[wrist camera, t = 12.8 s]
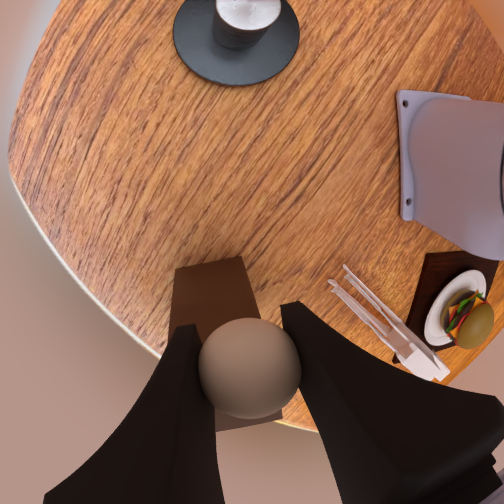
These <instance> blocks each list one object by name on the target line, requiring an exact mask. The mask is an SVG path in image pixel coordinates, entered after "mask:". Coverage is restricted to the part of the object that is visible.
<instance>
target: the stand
mask: <svg viewBox="0 0 504 504" xmlns="http://www.w3.org/2000/svg"><path fill="white" fill-rule="evenodd" d="M241 318H257V319H261V316H260V313H259V310H258V307H257V304H256V300H255V297H254V294H253V291H252V288H251V285H250V281H249V278H248V275H247V272H246V269H245V266H244V262H243V259H242V256H239V257H234V258H229V259H224V260H219V261H214V262H209V263H204V264H199V265H194V266H189V267H184V268H179V269H176V270H175V277H174V285H173V293H172V302H171V311H170V321H169V331H168V343H169V341H170V338H171V336H172V334H173V332H174V330H175V328H176V327H177V326H183V325H188V324H193V323H195V324H196V327H197V330H198V333H199V336H200V339H201V342H202V345H203V344H204V342H205V341H206V340H207V338H208V337H209V336H210V335H211V334H212V333H213V332H214V331H215V330H216V329H217V328H219V327H220V326H222V325H224V324H226V323H228V322H230V321H233V320H236V319H241ZM168 343H167V345H168ZM282 418H283V416H282V409H280V410H279V411H277V412H276V413H274V414H271V415H269V416H266V417H262V418H257V419H242V418H237V417H233V416H230V415H228V414H226V413H224V412H222V411H220V410H219V409H218V408H216V407H215V432H218V431H224V430H229V429H236V428H241V427H247V426H251V425H256V424H261V423H266V422H271V421H275V420H279V419H282Z"/></svg>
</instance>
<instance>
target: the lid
mask: <svg viewBox="0 0 504 504" xmlns="http://www.w3.org/2000/svg"><path fill="white" fill-rule="evenodd" d="M299 37H300V31H299V24H298V20H297V17H296V15H295V13H294V11H293V9H292V8H291V6H290V5H289V3H288V2H287V1H286V0H185V2H184V3H183V4H182V5H181V7H180V8H179V10H178V12H177V14H176V17H175V20H174V24H173V40H174V45H175V48H176V50H177V53H178V55H179V57H180V58H181V60H182V61H183V63H184V64H185V65H186V66H187V67H188V68H189V69H190V70H191V71H192V72H193V73H195V74H196V75H197V76H199V77H201V78H203V79H204V80H207V81H209V82H212V83H215V84H218V85H223V86H230V87H242V86H250V85H255V84H258V83H261V82H264V81H266V80H268V79H270V78H272V77H273V76H275V75H277V74H278V73H279V72H281V71H282V70H283V69H284V68H285V67H286V66H287V65H288V64H289V63H290V61H291V60H292V58H293V57H294V55H295V53H296V50H297V48H298V44H299Z"/></svg>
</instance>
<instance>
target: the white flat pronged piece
mask: <svg viewBox="0 0 504 504" xmlns="http://www.w3.org/2000/svg"><path fill="white" fill-rule="evenodd" d="M342 266H343V268H344V269H345V271H347V272H348V274H347V275H346V276H345V277H344V278H345V279H348V282H350V283H351V284H352V285H353V286H354V287H355V288H356V289H357V290H358V291H359V292H360V293H361V294H362V295H363V296H364V297H365V298H366V299H367V300H368V301H369V302H370V303H371V304H372V305H373V306H374V307H375V308H376V309H377V310H378V311H379V312H380V313H381V314H382V315H383V316H384V317H385V318H386V319H387V321H388V322H389V323H390V324H391V325H392V327H393V328H394V329H393V330H392V329H391V328H390V327H389V326H388V325H384V324H383V323H381V322H380V321H379V320H378V319H377V318H375V317H374V316H373V315H372V314H371V313H369V312H368V311H367V310H366V309H365V308H364V307H363V306H362V305H360V304H359V303H358V302H357V301H356V300H355V299H354V298H353V297H352V296H350V295H349V294H348V293H347V292H346V291H345V290H344V289H343V288H341V287H340V286H339V285H338V284H337V282H336V280H335V279H329V280H328V281H327V282H328V283H330V284H332V285H333V286H334V288H333V289H332V290H331V291H330V292H334V293H336V295H338V296H339V297H340V298H341V299H342V300H343V301H344V302H345V303H346V304H347V305H348V306H349V307H350V308H351V309H352V310H353V311H354V312H355V313H356V314H357V315H358V316H359V318H360V319H361V320H362V321H363V322H364V323H365V324H368V325H369V326H370V327H371V328H372V329H373V331H374V332H375V333H376V334H377V336H378V337H379V338H380V339H381V340H382V341H383V342H384V343H385V344H386V345H387V346H389V347H390V348H391V349H392V350H393V351H394V352H395V353H396V356H397V358H398V359H399V360H400V362H401V363H402V364H403V365H404V366H405V367H406V368H407V369H409V370H410V371H411V372H412V373H413V374H414V375H416V376H418V377H420V378H423V379H426V380H428V381H431V380H432V379H433V378H434V377H435V378H437V379H438V380H439V381H441V380H442V379H444V378H445V377H446V376H447V375H448V374H449V373H450V370H449V368H448V367H447V366H446V365H445V363H444V362H443V361H442V360H441V359H440V357H439V356H438V355H437V354H436V353H435V351H434V350H432V351H431V350H430V349H429V348H428V347H427V346H426V345H425V344H424V343H423V342H422V341H421V340H420V339H419V338H418V337H417V336H416V335H415V334H414V333H413V332H412V331H411V330H410V329H408V328H407V327H406V326H405V325H404V323H403V321H402V320H401V319H400V318H398V317H397V316H396V315H395V314H394V313H393V312H392V311H391V310H390V309H389V308H388V307H387V306H386V305H385V304H384V303H382V302H381V301H380V300H379V299H378V298H377V297H376V296H375V295H374V294H373V293H372V292H371V291H370V290H369V289H368V288H367V287H366V286H365V285H364V284H363V283H362V282H361V281H360V280H359V279H358V278H357V277H356V276H355V275H354V274H353V273H352V272H351V271H350V270H349V269H348V267H347V266H346V264H343V265H342ZM349 274H350V275H351V276H352V277H353V278H354V279H355V280H356V281H357V282H358V283H359V284H360V285H361V286H362V287H363V288H364V289H365V290H366V291H367V292H368V293H369V294H370V295H371V297H372V298H373V299H374V300H375V301H376V302H377V303H378V304H379V305H380V306H381V307H382V308H383V309H384V310H385V312H386V313H387V314H388V315H389V316H390V317H391V319H392V321H393V322H394V323H396V325H397V326H396V325H395V324H394V323H393V322H392V321H391V320H390V319H389V318H388V317H387V316H386V315H385V314H384V313H383V312H382V310H381V308H380V307H379V306H378V305H377V304H376V303H375V302H374V300H373V299H372V298H371V297H370V296H369V295H368V294H367V293H366V292H365V291H364V290H363V289H362V288H361V287H360V286H359V285H358V284H357V283H356V282H355V281H354V280H353V278H350V275H349ZM336 295H335V296H336ZM369 320H370V321H371V322H372V323H373V324H374V325H375V326H376V327H377V328H378V329H379V330H380V331H381V332H382V334H383V335H384V336H387V337H388V339H389V341H388V340H387V339H386V338H385V337H384V336H383V335H382V334H381V333H380V332H378V331H377V330H376V329H375V328H374V327H373V325H372V324H371V323H370V322H369Z"/></svg>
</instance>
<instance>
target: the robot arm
mask: <svg viewBox="0 0 504 504" xmlns="http://www.w3.org/2000/svg"><path fill="white" fill-rule="evenodd" d="M396 100H397V110H398V122H399V138H400V161H401V212H400V215H401V218H402V219H403V220H405V221H412V220H415V221H417V222H418V223H420V224H422V225H423V226H425V227H427V228H429V229H430V230H432V231H434V232H435V233H437V234H439V235H440V236H442V237H443V238H445V239H447V240H448V241H450V242H452V243H453V244H455V245H456V246H458V247H459V248H461V249H463V250H465V251H466V252H469V253H471V254H474V255H476V256H479V257H483V258H486V259H491V260H504V103H498V102H489V101H479V100H471V99H470V97H466V96H460V95H452V94H445V93H436V92H426V91H415V90H399V91H397V93H396ZM403 101H404V102H405V106H403V104H402V103H403ZM407 199H408V203H407V204H406V200H407ZM280 308H281V316H282V324H283V330H284V331H285V332H286V333H287V334H288V335H289V336H290V337H291V338H292V340H293V342H294V344H295V346H296V348H297V351H298V354H299V358H300V362H301V367H302V376H301V380H300V384H299V389H300V392H301V394H302V396H303V398H304V400H305V402H306V405H307V407H308V409H309V411H310V413H311V415H312V418H313V420H314V422H315V424H316V426H317V428H318V431H319V433H320V435H321V438H322V441H323V444H324V446H325V450H326V452H327V455H328V458H329V461H330V464H331V468H332V471H333V474H334V477H335V480H336V483H337V487H338V490H339V493H340V496H341V500H342V503H343V504H504V468H503V469H502V470H501V471H500V472H498V473H496V472H495V470H494V468H493V467H492V466H493V465H494V464H495V463H496V460H495V458H494V457H493V455H492V454H491V453H492V452H493V450H494V449H495V448H496V447H497V446H498V445H499V444H500V443H501V441H502V440H503V439H504V406H503V405H502V403H501V402H500V401H499V400H498V399H497V398H496V397H495V396H492V395H486V394H480V393H475V392H469V391H463V390H459V389H455V388H451V387H448V386H444V385H441V384H437V383H434V382H431V381H428V380H426V379H423V378H420V377H418V376H415V375H413V374H410V373H408V372H405V371H403V370H400V369H398V368H396V367H394V366H392V365H390V364H388V363H386V362H384V361H382V360H380V359H378V358H376V357H375V356H373V355H371V354H370V353H368V352H366V351H365V350H363V349H362V348H360V347H358V346H357V345H355V344H354V343H352V342H351V341H349V340H348V339H346V338H345V337H344V336H342V335H341V334H340V333H338V332H337V331H336V330H334V329H333V328H331V327H330V326H329V325H328V324H326V323H325V322H324V321H323V320H321V319H320V318H319V317H318V316H317V315H315V314H314V313H313V312H312V311H311V310H309V309H308V308H307V307H306V306H305V305H304V304H303V303H301V302H300V301H296V302H292V303H288V304H283V305H280ZM202 346H203V345H202V342H201V339H200V336H199V333H198V330H197V327H196V324H195V323H193V324H188V325H183V326H177V327H176V328H175V330H174V332H173V334H172V336H171V338H170V341H169V343H168V345H167V347H166V349H165V351H164V353H163V355H162V357H161V359H160V361H159V363H158V365H157V367H156V368H155V370H154V372H153V374H152V376H151V378H150V380H149V381H148V383H147V385H146V386H145V388H144V390H143V391H142V393H141V395H140V396H139V398H138V399H137V401H136V402H135V404H134V405H133V407H132V409H131V410H130V411H129V413H128V414H127V416H126V417H125V418H124V420H123V421H122V422H121V424H120V425H119V426H118V427H117V429H116V430H115V431H114V432H113V433H112V434H111V436H110V437H109V438H108V439H107V440H106V441H105V442H104V444H103V445H102V446H101V447H100V448H99V449H98V450H97V451H96V452H95V453H94V454H93V455H92V456H91V457H90V458H89V459H88V460H87V461H86V462H85V463H84V464H83V465H82V466H81V467H80V468H79V469H77V470H76V471H75V472H74V473H72V474H71V475H70V476H69V477H68V478H66V479H65V480H64V481H62V482H61V483H60V484H58V485H57V486H56V487H54V488H53V489H52V490H50V491H49V492H47V493H46V494H45V496H44V500H43V504H225V501H224V496H223V491H222V486H221V481H220V475H219V469H218V463H217V453H216V434H215V433H216V432H215V406H214V405H213V404H212V403H211V402H210V401H209V400H208V398H207V397H206V396H205V394H204V392H203V390H202V387H201V383H200V378H199V371H198V357H199V354H200V350H201V348H202Z"/></svg>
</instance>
